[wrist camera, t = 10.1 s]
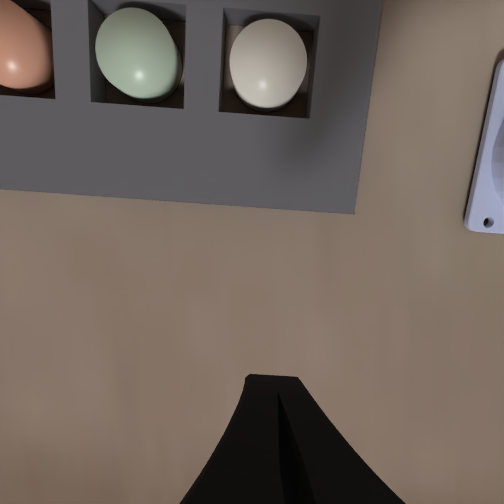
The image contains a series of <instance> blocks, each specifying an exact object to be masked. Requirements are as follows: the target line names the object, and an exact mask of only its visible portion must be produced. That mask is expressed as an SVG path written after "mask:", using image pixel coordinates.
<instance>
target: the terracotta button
mask: <svg viewBox="0 0 504 504" xmlns="http://www.w3.org/2000/svg"><path fill="white" fill-rule="evenodd" d="M54 83H55V79H54V60H53V40H52V32H51V31H50V30H49V29H48V28H47V27H46V26H45V25H43V24H42V23H41V22H39V21H38V20H37V19H35V18H34V17H33V16H31V15H30V14H29V13H27V12H26V11H25V10H23V9H22V8H21V7H19V6H18V5H17V4H15V3H14V2H12V1H10V0H0V85H3V86H6V87H8V88H11V89H14V90H16V91H19V92H22V93H26V94H37V93H41V92H44V91H46V90H47V89H49V88H50V87H51V86H52V85H53V84H54Z"/></svg>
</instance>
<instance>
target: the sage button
mask: <svg viewBox="0 0 504 504" xmlns="http://www.w3.org/2000/svg"><path fill="white" fill-rule="evenodd" d="M95 50H96V57H97V61H98V64H99V67H100V69H101V71H102V73H103V74H104V76H105V77H106V78H107V80H108V81H109V82H110V83H111V84H113V85H114V86H115V87H117V88H118V89H120V90H121V91H122V92H124V93H125V94H127V95H128V96H130V97H131V98H133V99H135V100H137V101H140V102H143V103H156V102H160V101H162V100H164V99H166V98H167V97H169V96H170V95H171V94H172V93H173V92H174V91H175V89H176V88H177V86H178V84H179V82H180V79H181V75H182V61H181V56H180V53H179V51H178V48H177V47H176V45H175V43H174V41H173V39H172V37H171V36H170V34H169V32H168V30H167V28H166V27H165V26H164V24H163V23H162V22H161V21H160V20H159V19H158V18H157V17H156V16H155V15H153V14H152V13H150V12H148V11H146V10H143V9H140V8H123V9H120V10H118V11H116V12H114V13H112V14H111V15H110V16H108V17H107V18H106V19H105V21H104V22H103V23H102V25H101V27H100V29H99V31H98V34H97V37H96V46H95Z"/></svg>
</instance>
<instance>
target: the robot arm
mask: <svg viewBox="0 0 504 504" xmlns="http://www.w3.org/2000/svg"><path fill="white" fill-rule="evenodd" d="M486 218H488V224H487V225H486V226H484V225H483V222H484V220H485V219H486ZM464 225H465V227H466V228H467V229H468V230H471V231H475V232H488V233H502V234H504V59H503V60H501V61H500V62H499V63H498V65H497V67H496V71H495V76H494V80H493V85H492V90H491V95H490V100H489V104H488V109H487V114H486V119H485V124H484V128H483V133H482V138H481V143H480V148H479V152H478V157H477V162H476V167H475V172H474V176H473V181H472V186H471V191H470V196H469V200H468V205H467V210H466V215H465V220H464ZM180 504H405V503H404V502H403V501H402V500H401V499H400V498H399V497H398V496H397V495H396V494H395V493H394V492H393V491H392V490H391V489H390V488H389V487H388V486H387V485H386V484H385V483H384V482H383V481H382V480H381V479H380V478H379V477H378V476H377V475H376V474H375V473H374V472H373V470H372V469H371V468H370V467H369V466H368V465H367V464H366V463H365V462H364V461H363V459H362V458H361V457H360V456H359V455H358V454H357V453H356V452H355V450H354V449H353V448H352V447H351V446H350V445H349V443H348V442H347V441H346V440H345V439H344V437H343V436H342V435H341V434H340V432H339V431H338V430H337V429H336V427H335V426H334V425H333V424H332V422H331V421H330V420H329V419H328V417H327V416H326V415H325V413H324V412H323V411H322V409H321V408H320V407H319V405H318V404H317V403H316V401H315V400H314V399H313V397H312V396H311V395H310V393H309V392H308V390H307V389H306V388H305V386H304V385H303V383H302V382H301V381H300V379H299V378H298V377H291V376H275V375H258V374H249V375H248V376H247V377H246V378H245V384H244V388H243V392H242V395H241V397H240V400H239V402H238V405H237V407H236V410H235V412H234V414H233V416H232V418H231V420H230V422H229V424H228V426H227V428H226V430H225V432H224V434H223V436H222V438H221V439H220V441H219V443H218V445H217V446H216V448H215V450H214V452H213V453H212V455H211V457H210V459H209V460H208V462H207V464H206V465H205V467H204V468H203V470H202V471H201V473H200V475H199V476H198V478H197V479H196V481H195V482H194V484H193V485H192V486H191V488H190V489H189V491H188V492H187V494H186V495H185V497H184V498H183V499H182V501H181V502H180Z"/></svg>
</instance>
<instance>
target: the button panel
mask: <svg viewBox="0 0 504 504" xmlns="http://www.w3.org/2000/svg"><path fill="white" fill-rule="evenodd" d="M10 1H12V2H14V3H15V4H17V5H18V6H19V7H21V8H31V9H43V10H51V21H52V40H53V60H54V79H55V98H56V99H45V98H32V97H19V96H6V95H0V189H4V190H18V191H32V192H47V193H61V194H75V195H89V196H103V197H117V198H131V199H145V200H159V201H173V202H187V203H201V204H215V205H229V206H243V207H257V208H271V209H286V210H300V211H314V212H328V213H342V214H354V212H355V204H356V197H357V190H358V182H359V175H360V168H361V160H362V153H363V146H364V139H365V131H366V124H367V117H368V109H369V102H370V95H371V87H372V80H373V73H374V65H375V58H376V51H377V43H378V36H379V29H380V21H381V14H382V7H383V0H10ZM123 8H140V9H143V10H146V11H148V12H150V13H152V14H153V15H155V16H156V17H157V18H158V19H165V20H177V21H186V38H185V78H184V109H175V108H162V107H149V106H136V105H123V104H110V103H105V76H104V74H103V73H102V71H101V69H100V67H99V64H98V61H97V57H96V50H95V46H96V37H97V34H98V31H99V29H100V27H101V25H102V23H103V22H104V15H111V14H112V13H114V12H116V11H118V10H120V9H123ZM262 19H275V20H279V21H282V22H284V23H286V24H288V25H289V26H291V27H292V28H293V29H294V30H299V31H311V32H313V42H312V52H311V63H310V73H309V83H308V93H307V103H306V113H305V118H293V117H280V116H267V115H254V114H241V113H228V112H222V93H223V72H224V51H225V31H226V25H238V26H248V25H250V24H251V23H253V22H255V21H258V20H262Z"/></svg>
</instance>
